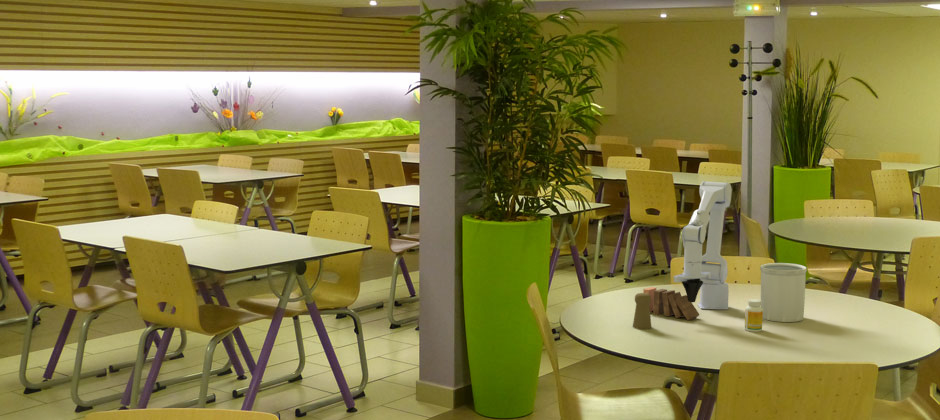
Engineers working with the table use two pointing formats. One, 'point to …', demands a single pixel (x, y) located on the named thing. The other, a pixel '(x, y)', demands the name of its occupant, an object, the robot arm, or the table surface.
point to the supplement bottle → (753, 316)
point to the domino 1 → (651, 293)
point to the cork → (642, 311)
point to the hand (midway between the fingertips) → (691, 301)
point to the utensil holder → (783, 291)
